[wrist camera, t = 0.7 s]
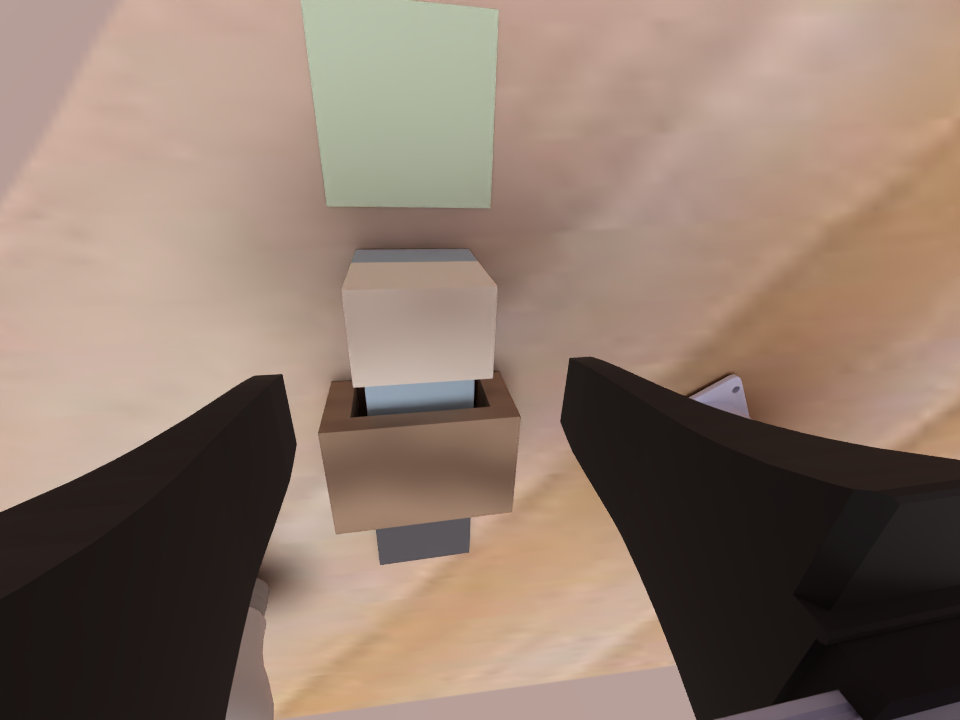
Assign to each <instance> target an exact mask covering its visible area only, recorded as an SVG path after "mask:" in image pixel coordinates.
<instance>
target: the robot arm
mask: <svg viewBox="0 0 960 720" xmlns="http://www.w3.org/2000/svg"><path fill="white" fill-rule="evenodd" d="M733 388H734V389H733ZM560 422H561V424H562V427H563V430H564V432H565V435H566V437H567V440H568V442H569V444H570V447H571V449H572V451H573V453H574V455H575V457H576V459H577V460H578V462H579V464H580V465H581V467H582V469H583V471H584V472H585V474H586V476H587V477H588V479H589V481H590V482H591V484H592V486H593V487H594V489H595V491H596V492H597V494H598V496H599V497H600V499H601V501H602V502H603V504H604V506H605V507H606V509H607V511H608V512H609V514H610V516H611V517H612V519H613V521H614V523H615V525H616V526H617V528H618V530H619V532H620V534H621V536H622V538H623V540H624V542H625V544H626V546H627V548H628V551H629V553H630V555H631V557H632V559H633V561H634V564H635V566H636V568H637V570H638V572H639V574H640V577H641V579H642V581H643V584H644V586H645V588H646V591H647V593H648V595H649V598H650V600H651V602H652V605H653V607H654V609H655V612H656V614H657V617H658V619H659V622H660V624H661V627H662V629H663V632H664V634H665V637H666V639H667V642H668V644H669V647H670V649H671V652H672V654H673V657H674V660H675V662H676V665H677V667H678V670H679V673H680V675H681V678H682V681H683V684H684V687H685V689H686V692H687V695H688V697H689V701H690V703H691V706H692V709H693V712H694V714H695V717H696V720H960V460H956V459H949V458H942V457H935V456H928V455H921V454H914V453H908V452H901V451H894V450H887V449H880V448H874V447H868V446H863V445H858V444H853V443H848V442H842V441H837V440H832V439H827V438H823V437H818V436H814V435H809V434H805V433H801V432H797V431H793V430H789V429H785V428H781V427H777V426H773V425H769V424H766V423H762V422H759V421H755V420H752V419H751V418H750V417H749V412H748V407H747V403H746V398H745V394H744V389H743V385H742V380H741V378H740V377H738V376H737V375H735V374H732V375H729V376H727V377H726V378H724V379H722V380H720V381H718V382H716V383H714V384H713V385H711V386H709V387H707V388H705V389H703V390H702V391H700V392H698V393H696V394H694V395H692V396H691V397H689V398H688V397H686V396H683V395H681V394H678V393H676V392H674V391H671V390H669V389H666V388H664V387H662V386H660V385H657V384H655V383H653V382H651V381H648V380H646V379H644V378H642V377H639V376H637V375H635V374H633V373H631V372H628V371H626V370H624V369H622V368H620V367H617V366H615V365H613V364H610V363H608V362H605V361H603V360H600V359H597V358H594V357H578V358H570V359H569V366H568V373H567V379H566V386H565V393H564V400H563V407H562V414H561V420H560ZM296 445H297V443H296V438H295V433H294V429H293V424H292V419H291V414H290V409H289V404H288V399H287V395H286V390H285V385H284V380H283V375H282V374H277V375H259V376H253V377H251V378H249V379H247V380H245V381H244V382H242V383H240V384H239V385H237V386H236V387H234V388H232V389H231V390H229V391H228V392H226V393H225V394H223V395H222V396H220V397H219V398H217V399H216V400H214V401H212V402H211V403H209V404H208V405H206V406H205V407H203V408H202V409H200V410H199V411H197V412H196V413H194V414H192V415H191V416H189V417H188V418H186V419H185V420H183V421H181V422H180V423H178V424H176V425H175V426H173V427H171V428H170V429H168V430H166V431H164V432H163V433H161V434H159V435H158V436H156V437H154V438H153V439H151V440H149V441H148V442H146V443H144V444H143V445H141V446H139V447H137V448H136V449H134V450H132V451H130V452H128V453H126V454H125V455H123V456H121V457H119V458H117V459H115V460H113V461H111V462H109V463H107V464H105V465H103V466H101V467H99V468H97V469H95V470H93V471H91V472H89V473H87V474H85V475H83V476H81V477H79V478H77V479H75V480H73V481H71V482H69V483H66V484H64V485H62V486H60V487H57V488H55V489H53V490H50V491H48V492H46V493H44V494H41V495H39V496H37V497H34V498H32V499H30V500H27V501H25V502H23V503H21V504H18V505H16V506H14V507H11V508H9V509H7V510H5V511H2V512H0V720H225V719H226V713H227V708H228V703H229V698H230V692H231V688H232V683H233V678H234V673H235V669H236V664H237V659H238V655H239V650H240V645H241V640H242V636H243V632H244V627H245V623H246V619H247V614H248V610H249V606H250V602H251V597H252V593H253V589H254V586H255V582H256V579H257V576H258V572H259V569H260V566H261V563H262V560H263V557H264V554H265V551H266V549H267V546H268V543H269V540H270V537H271V534H272V531H273V529H274V526H275V523H276V520H277V517H278V514H279V511H280V508H281V506H282V503H283V500H284V497H285V494H286V491H287V488H288V485H289V482H290V477H291V473H292V468H293V463H294V457H295V451H296Z"/></svg>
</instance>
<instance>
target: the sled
mask: <svg viewBox="0 0 960 720" xmlns="http://www.w3.org/2000/svg"><path fill="white" fill-rule="evenodd" d="M497 290H498V286H497V285H496V284H495V283H494V281H493V280H492V279H491V277H490V276H489V275H488V274H487V272H486V271H485V270H484V268H483V267H482V266H481V264H480V263H479V262H478V261H477V259H476V258H475V257H474V255H473V254H472V253H471V252H470V250H469V249H373V250H356V251H355V253H354V256H353V259H352V262H351V264H350V267H349V270H348V273H347V275H346V278H345V281H344V284H343V286H342V289H341V294H342V302H343V310H344V319H345V327H346V335H347V343H348V351H349V359H350V367H351V375H352V384H353V388H355V387H365V396H366V405H367V414H368V416H378V415H391V414H404V413H417V412H429V411H442V410H455V409H468V408H474V380H477V379H492V378H493V366H494V347H495V328H496V309H497Z"/></svg>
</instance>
